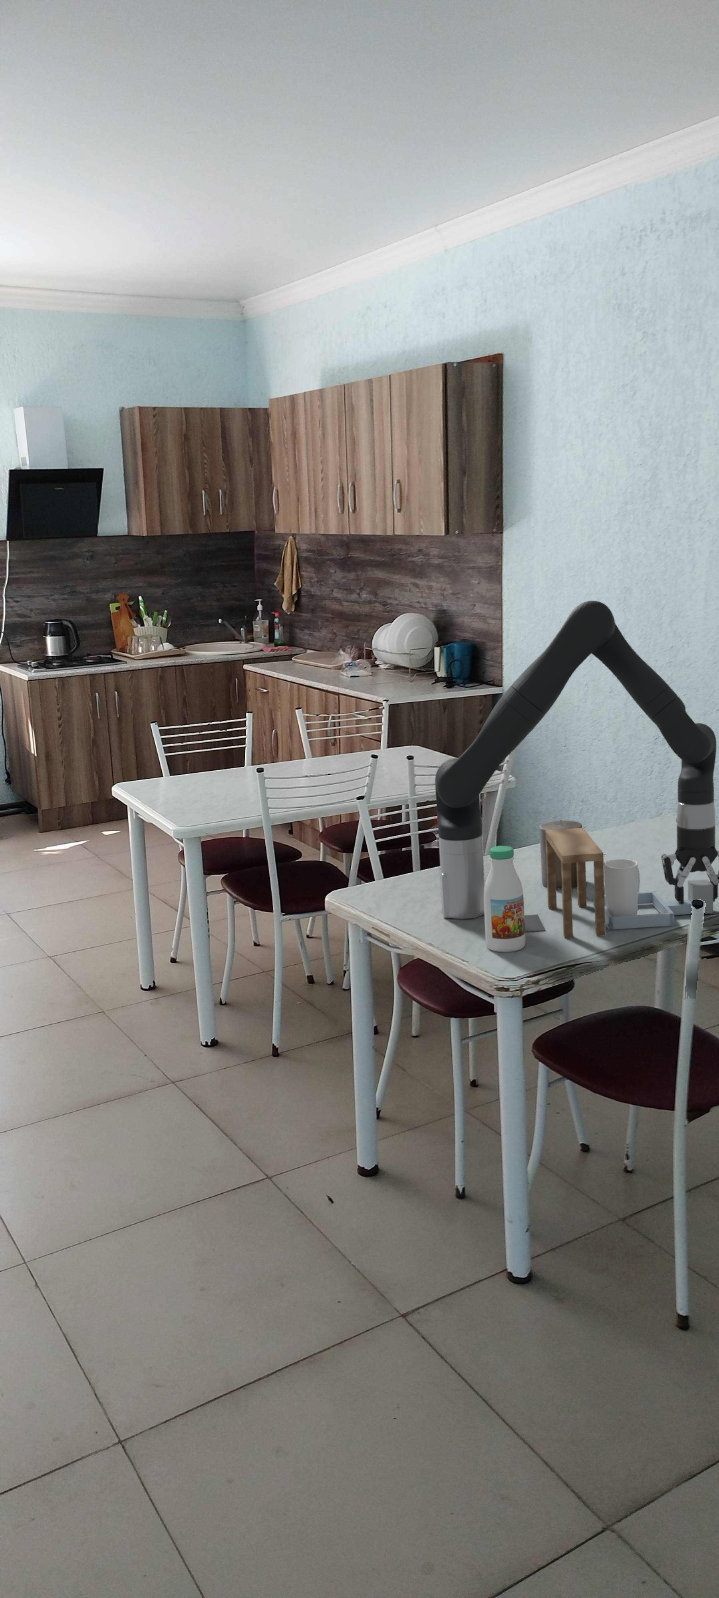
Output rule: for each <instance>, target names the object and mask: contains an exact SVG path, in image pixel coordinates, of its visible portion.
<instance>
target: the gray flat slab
mask: <svg viewBox="0 0 719 1598" xmlns="http://www.w3.org/2000/svg"><path fill="white" fill-rule="evenodd" d="M524 917H525V934H526V933H536V932H538V933H539V932H546V928H545V926H544V924H543V922H542V920H541V918H540V916H539V914H524Z"/></svg>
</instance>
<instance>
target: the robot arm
mask: <svg viewBox="0 0 719 1598" xmlns="http://www.w3.org/2000/svg"><path fill="white" fill-rule="evenodd" d="M615 620H616V619H615V616H614V615H613V612H612V611H611V609H610V608H609V606H607V604H605V603H603V602H601V601H599V600H598V601H597V600H588V601H584V602H581V603H579V604H578V605H576V607H574V609H572V611H571V612H570V614H569V616H568V617H567V618H566V621H564V624H562V626H561V627H560V629H559V631H558V632H557V634H556V635H555V636H554V638H553V639H552V640H551V642H550V643H549V645H548V646H547V647H546V648H545V649H544V650H543V652H542V653H541V654H540V655H539V656H537V658H536V659H534V661H533V662H532V663H531V664H530V665H528V666H527V668H526V669H525V670H524V671H523V672H522V673H521V674H520V675H519V677H518V678H517V679H516V680H514V681H513V683H512V684H511V685H510V686H509V687H508V689H507V690H506V691H505V692H504V694H503V695H502V696H501V697H500V698H499V699H498V701H497V702H496V703H495V705H494V707H493V708H492V710H491V712H490V713H489V715H488V716H487V718H486V719H485V722H484V724H483V726H482V727H481V729H480V731H479V733H478V734H477V736H476V738H475V739H474V740H473V741H472V743H471V744H470V745H469V747H468V748H467V749H465V751H463V753H461V755H460V756H459V757H456V758H451V759H448V760H445V761H444V762H443V763H442V764H440V766H439V767H438V768H437V771H436V773H435V777H434V778H435V779H434V780H435V781H434V785H435V790H434V791H435V801H436V802H435V804H436V821H437V830H438V831H437V832H438V846H439V864H440V865H439V880H440V881H439V882H440V883H439V884H440V897H441V901H440V902H441V911H442V914H443V918H445V919H446V918H447V919H448V918H449V919H450V918H451V919H456V920H458V919H459V920H467V919H469V920H470V919H475V918H478V917H481V916H483V915H485V912H484V887H485V882H486V880H485V865H484V844H483V843H484V841H483V823H482V814H481V813H482V812H481V800H480V794H481V792H482V791H483V790H484V788H485V787H486V785H487V784H488V782H489V781H490V780H491V779H492V776H493V775H494V774H495V772H496V771H497V769H498V768H499V767H500V766H501V764H502V763H503V762H504V761H505V760H506V759H507V757H508V756H509V755H510V754H512V752H514V750H516V748H517V747H518V746H519V745H520V744H521V743H522V742H523V741H524V740H525V739H526V738H527V736H528V735H529V734H530V733H531V732H532V731H533V730H534V729H535V728H536V727H537V725H538V724H539V723H540V721H542V719H543V718H544V717H545V716H546V714H548V712H549V711H550V710H551V708H552V707H553V705H554V704H555V702H556V701H557V699H558V698H559V697H560V696H561V693H562V692H563V690H564V688H565V687H566V685H567V683H568V681H569V680H570V678H571V677H572V675H573V674H574V672H576V671H577V669H578V668H579V666H580V665H581V664H583V663H584V662H585V660H587V658H589V657H590V656H591V655H592V656H594V657H595V658H597V660H599V661H600V662H601V664H603V665H604V666H605V667H606V668H607V669H608V670H609V671H610V672H611V673H612V674H613V675H614V677H615V678H616V679H617V680H618V681H619V683H620V684H621V685H622V687H623V688H624V689H625V690H626V691H627V694H629V695H630V697H631V698H632V699H633V701H634V702H635V703H636V704H637V706H638V707H639V708H640V710H642V711H643V712H644V714H645V715H646V716H647V718H649V720H650V721H652V723H653V724H655V726H656V727H657V728H658V730H659V732H660V734H661V735H662V737H663V739H664V740H665V741H666V743H667V745H668V746H669V747H670V749H671V750H672V752H673V753H674V754H675V755H676V756H677V757H678V758H679V759H680V760H681V768H680V770H681V771H680V774H679V776H678V779H677V806H676V818H675V822H676V850H675V852H674V853H671V854H665V853H663V854H662V855H660V857H661V863H662V869H663V874H664V880H665V881H666V882H667V883H668V885H670V886H674V899H675V901H678V902H679V903H680V904H684V900H685V893H684V892H685V888H684V886H683V885H684V883H685V881H686V879H687V878H688V877H689V875H690V873H695V872H700V873H701V872H705V874H706V876H707V877H708V879H709V882H711V883H712V884H713V903H714V902H716V900H717V899H718V897H719V894H718V893H719V871H718V874H716V872H715V869H714V868H713V866H712V864H713V862H714V861H715V860H716V858H717V859H718V860H719V850H717V848H716V808H715V787H714V786H715V783H714V772H715V766H716V756H717V738H716V734H715V732H714V730H713V729H712V728H711V727H710V726H709V725H708V724H706V723H700V722H696V723H695V722H694V720H693V719H692V718H691V717H690V715H689V714H688V712H687V710H686V705H685V702H684V701H683V700H682V699H681V698H680V696H678V694H677V693H676V692H675V691H674V690H673V689H672V688H671V686H670V685H669V684H668V683H667V682H666V680H664V679H663V678H662V676H660V674H658V673H657V671H655V670H654V669H653V668H652V667H651V666H650V665H649V664H648V663H647V662H646V661H645V660H644V659H643V658H642V657H640V656H639V654H638V653H637V652H636V651H635V650H634V648H633V647H632V646H631V645H630V644H629V642H628V640H626V638H625V636H624V635H623V634H622V632H621V630H620V628H619V627H618V625H617V624H616V621H615ZM675 860H677V862H679V866H678V868H677V871H676V875H675V877H674V873H673V872H674V871H673V868H672V867H673V866H674V865H675Z"/></svg>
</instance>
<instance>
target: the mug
mask: <svg viewBox="0 0 719 1598" xmlns="http://www.w3.org/2000/svg"><path fill="white" fill-rule="evenodd" d="M638 866H639V865H638V862H637V861H636V860H633V859H628V858H615V859H608V860H606V861H604V895H605V902H606V909H607V910H608V911H609V913H610V914H611V916H612V917H614V916H629V915H638V907H639V906H638V905H639V904H638V894H639V892H640V886H641V885H640V884H641V877H640V875H641V874H640V870H639V867H638Z"/></svg>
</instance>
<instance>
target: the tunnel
mask: <svg viewBox="0 0 719 1598" xmlns="http://www.w3.org/2000/svg"><path fill="white" fill-rule="evenodd" d="M545 833H546V862H547V887H546V889H547V907H548V909H549V910H556V909H557V908H558V905H557V904H558V903H557V901H558V900H557V889H556V870H555V852H556V854H557V856H558V857H559V859H560V860H561V873H562V889H561V895H562V896H561V897H562V899H561V900H562V901H561V902H562V925H563V926H562V930H563V931H562V932H563V933H562V934H563V938H564V939H573V938H574V928H573V927H574V925H573V923H574V922H573V896H572V895H573V893H572V889H573V888H572V887H571V863H575V862H577V887H576V888H577V889H576V890H577V891H576V892H577V893H576V894H577V906H578V907H579V908H586V907H587V906H588V905H587V904H588V903H587V873H586V872H587V869H586V867H587V866H586V863H588V862H593V878H594V879H593V880H594V881H593V882H594V883H593V884H594V887H593V888H594V895H595V907H594V920H595V924H594V926H595V935H596V936H597V937H606V924H605V902H604V895H605V880H604V862H605V861H604V852H603V850H601V848H600V847H599V846H598V845H597V843H596V842H595V841H594V839H593V838H592V837H591V836H590V834H589V833H588V832H587V830H586V829H585V828H584V827H582V828H573V829H558V830H545Z"/></svg>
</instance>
